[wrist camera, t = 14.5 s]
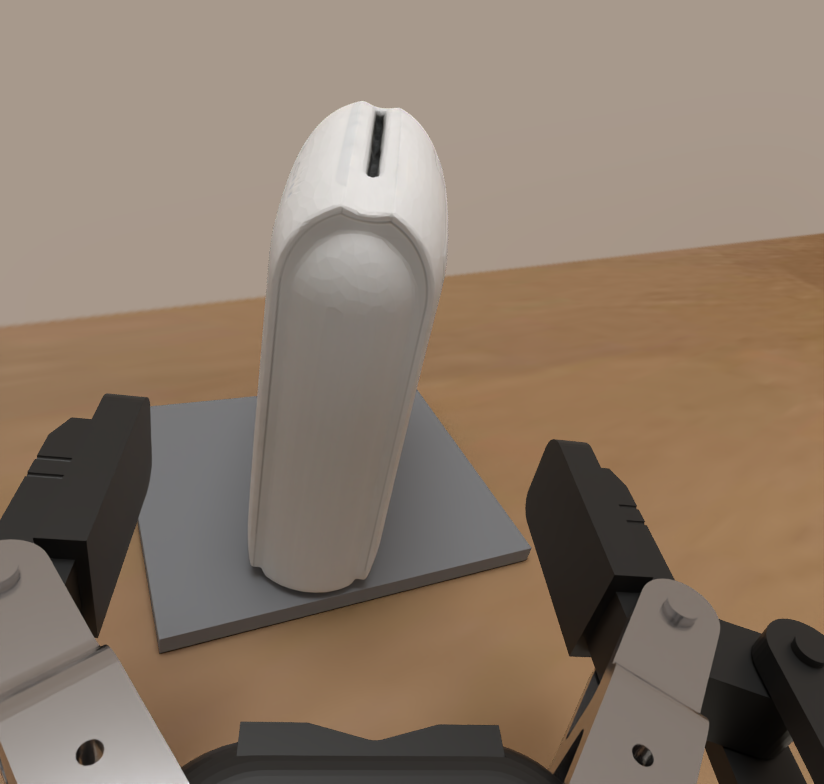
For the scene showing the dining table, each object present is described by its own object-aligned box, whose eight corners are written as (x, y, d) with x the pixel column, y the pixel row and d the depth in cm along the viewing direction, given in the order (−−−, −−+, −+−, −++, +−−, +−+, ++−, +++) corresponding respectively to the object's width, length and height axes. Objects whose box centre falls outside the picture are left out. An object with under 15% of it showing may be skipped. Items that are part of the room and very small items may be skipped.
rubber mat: (159, 653, 17) (159, 639, 17) (120, 422, 24) (119, 409, 24) (526, 559, 23) (531, 548, 23) (408, 392, 30) (411, 381, 30)
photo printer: (282, 387, 27) (316, 62, 20) (384, 403, 28) (452, 91, 21) (228, 590, 19) (255, 151, 12) (376, 607, 19) (485, 197, 12)
